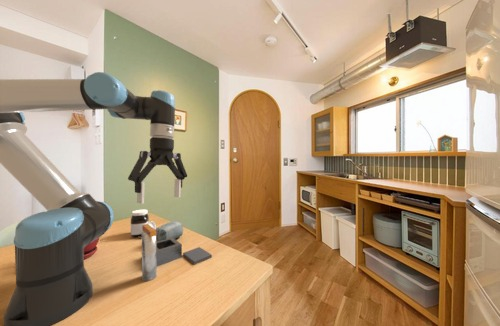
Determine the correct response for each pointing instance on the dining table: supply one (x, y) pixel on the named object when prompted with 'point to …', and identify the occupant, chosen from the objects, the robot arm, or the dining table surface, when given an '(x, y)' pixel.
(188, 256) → the rest mat
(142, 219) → the spread jar
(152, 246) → the chuck key
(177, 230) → the spool
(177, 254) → the block
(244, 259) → the dining table surface
